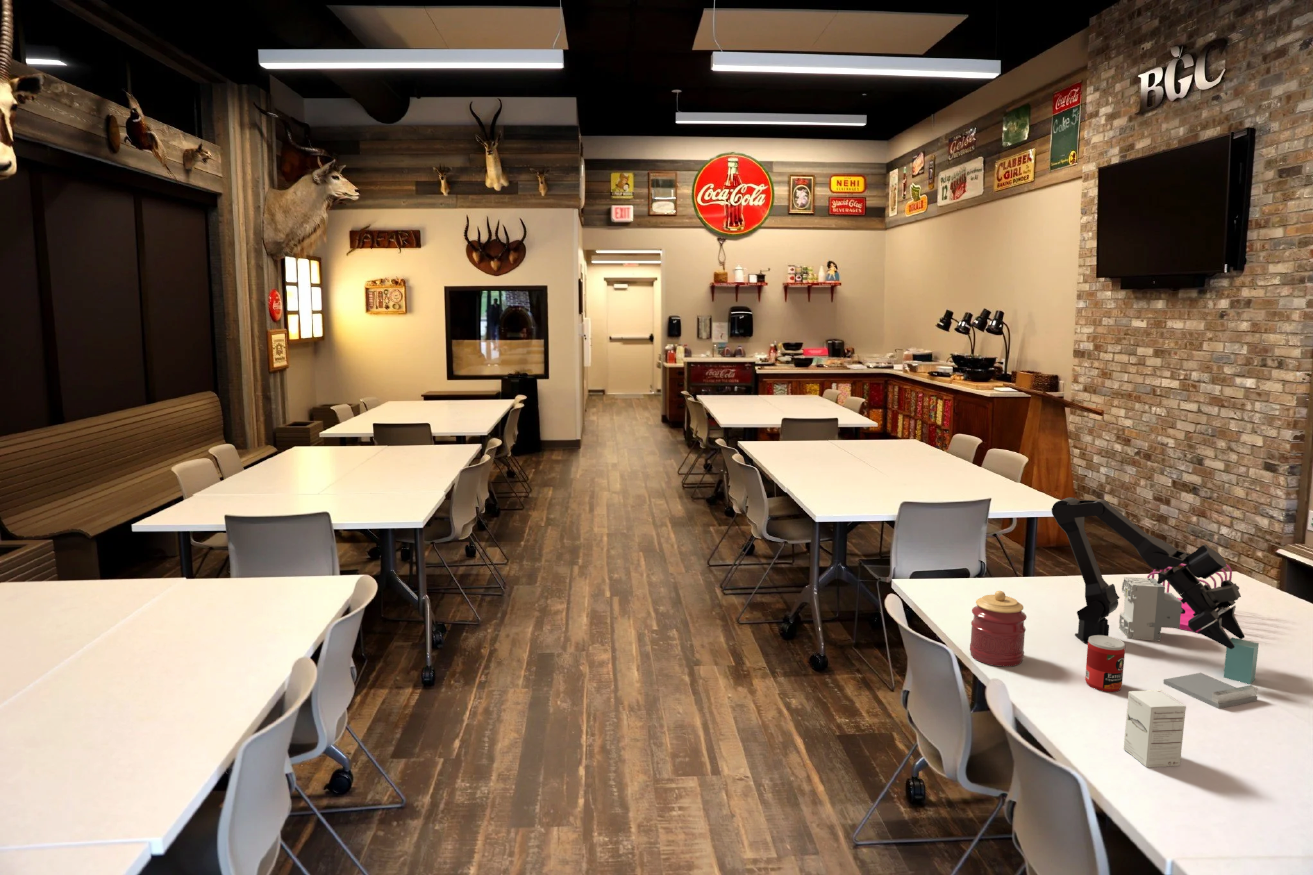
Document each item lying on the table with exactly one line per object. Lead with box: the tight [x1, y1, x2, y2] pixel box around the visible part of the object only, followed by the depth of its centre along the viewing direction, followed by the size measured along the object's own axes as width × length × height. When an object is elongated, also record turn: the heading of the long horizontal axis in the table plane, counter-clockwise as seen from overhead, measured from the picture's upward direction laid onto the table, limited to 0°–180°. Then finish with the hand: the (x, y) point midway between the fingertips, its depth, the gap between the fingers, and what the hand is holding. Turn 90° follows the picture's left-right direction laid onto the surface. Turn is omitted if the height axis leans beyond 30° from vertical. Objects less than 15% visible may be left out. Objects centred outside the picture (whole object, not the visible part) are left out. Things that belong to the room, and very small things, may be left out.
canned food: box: [1084, 635, 1126, 693], centre depth 204 cm, size 8×8×11 cm
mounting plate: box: [1163, 672, 1258, 709], centre depth 201 cm, size 14×12×3 cm
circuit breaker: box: [1118, 576, 1185, 641], centre depth 236 cm, size 8×14×15 cm, turn 78°
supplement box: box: [1123, 689, 1187, 768], centre depth 171 cm, size 7×7×13 cm
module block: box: [1223, 637, 1259, 685], centre depth 209 cm, size 6×4×9 cm
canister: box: [969, 590, 1027, 667], centre depth 220 cm, size 13×13×18 cm
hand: (1238, 643), depth 209 cm, fingers open, 9 cm apart
